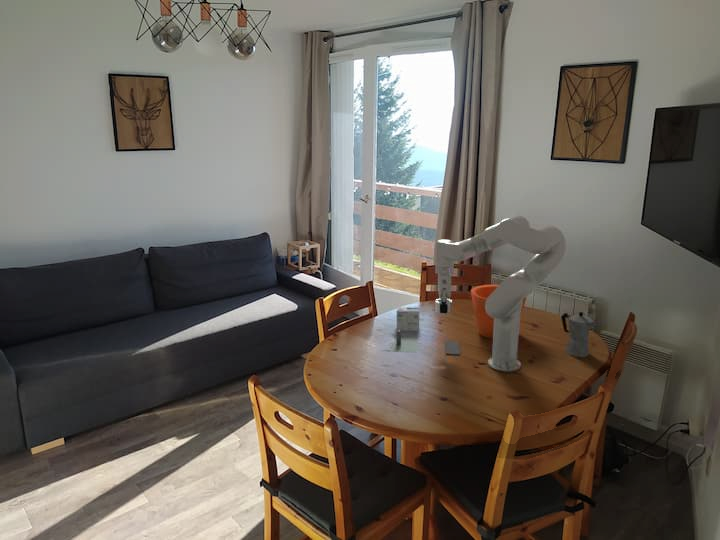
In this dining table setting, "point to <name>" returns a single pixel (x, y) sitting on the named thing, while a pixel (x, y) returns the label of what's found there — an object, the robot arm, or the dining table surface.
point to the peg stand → (404, 344)
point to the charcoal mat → (452, 347)
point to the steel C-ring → (438, 302)
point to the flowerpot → (482, 317)
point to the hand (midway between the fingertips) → (443, 309)
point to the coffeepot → (578, 334)
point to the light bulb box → (408, 318)
